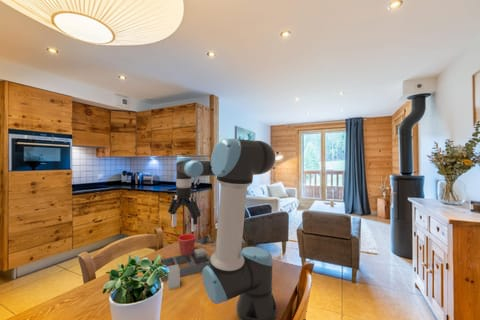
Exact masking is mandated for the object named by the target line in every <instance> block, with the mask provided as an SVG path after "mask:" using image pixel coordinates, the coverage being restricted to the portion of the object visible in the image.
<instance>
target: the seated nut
mask: <svg viewBox="0 0 480 320" xmlns="http://www.w3.org/2000/svg"><path fill="white" fill-rule="evenodd" d="M193 253H194V261H195V263H196V264H198V263H203V262H206V253H207V252H206V250H205V249H204V247H202V248H201V247H200V248H196V249H195V248H194V251H193Z"/></svg>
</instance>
